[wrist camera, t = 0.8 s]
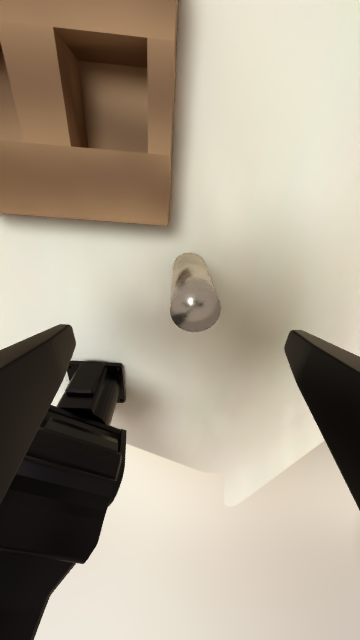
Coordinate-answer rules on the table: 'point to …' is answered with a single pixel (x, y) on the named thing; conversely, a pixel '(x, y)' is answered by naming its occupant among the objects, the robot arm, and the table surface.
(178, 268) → the pin
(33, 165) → the block
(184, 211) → the table surface
